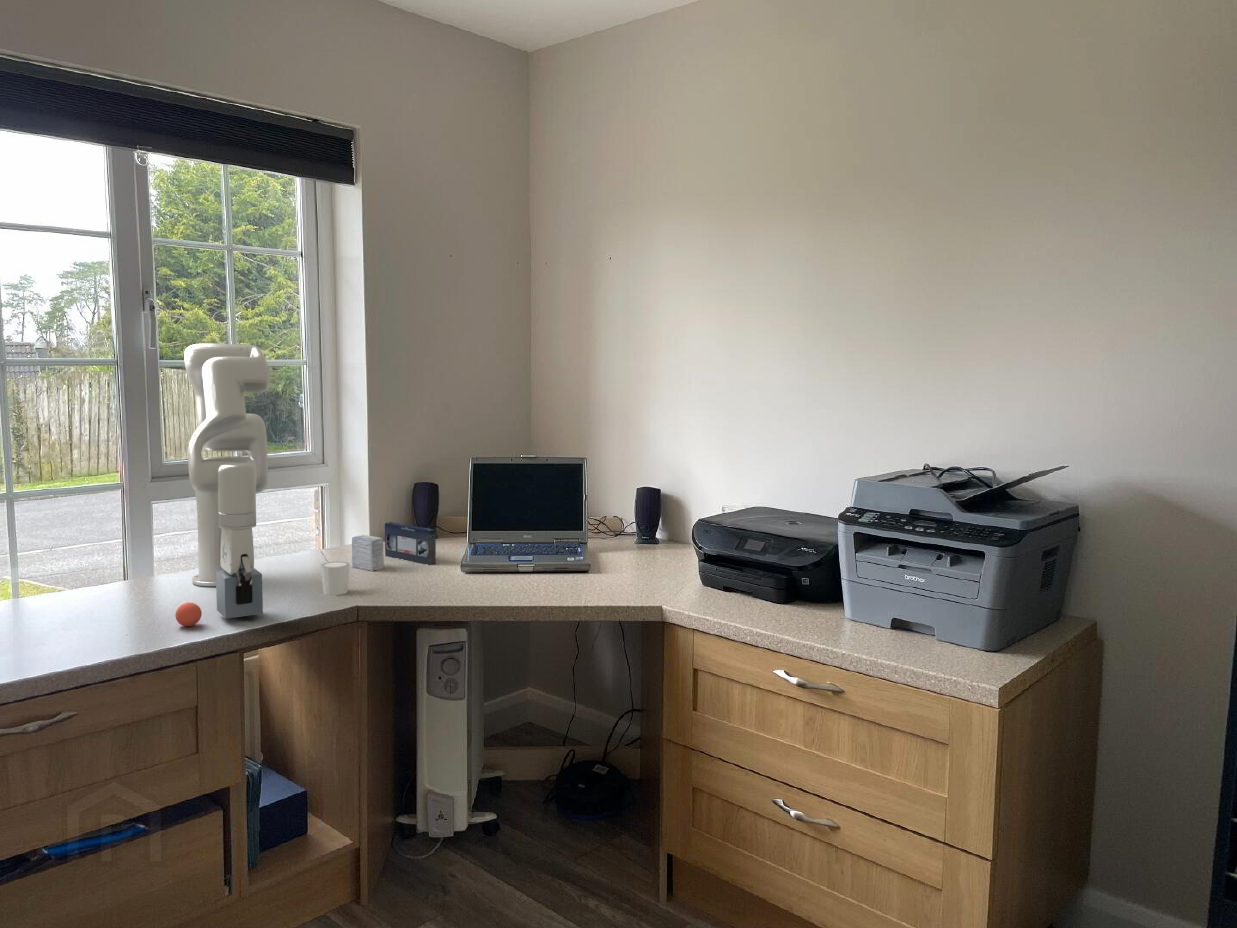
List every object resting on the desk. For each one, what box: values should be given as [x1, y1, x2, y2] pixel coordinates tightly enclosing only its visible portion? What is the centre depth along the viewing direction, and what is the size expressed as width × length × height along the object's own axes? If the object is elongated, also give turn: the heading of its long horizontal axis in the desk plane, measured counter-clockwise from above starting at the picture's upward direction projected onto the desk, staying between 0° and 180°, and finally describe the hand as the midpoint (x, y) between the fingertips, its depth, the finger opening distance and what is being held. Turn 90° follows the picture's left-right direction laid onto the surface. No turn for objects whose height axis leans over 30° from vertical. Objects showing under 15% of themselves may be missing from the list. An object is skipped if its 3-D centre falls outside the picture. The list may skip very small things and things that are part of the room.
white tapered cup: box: [320, 561, 351, 596], centre depth 221 cm, size 7×7×7 cm
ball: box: [175, 602, 203, 627], centre depth 191 cm, size 5×5×5 cm
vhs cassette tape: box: [384, 521, 437, 566], centre depth 258 cm, size 18×3×10 cm, turn 55°
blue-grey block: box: [215, 568, 264, 620], centre depth 197 cm, size 8×8×9 cm
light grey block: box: [351, 534, 385, 572], centre depth 246 cm, size 8×4×9 cm, turn 58°
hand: (239, 598), depth 197 cm, fingers closed on blue-grey block, 7 cm apart
